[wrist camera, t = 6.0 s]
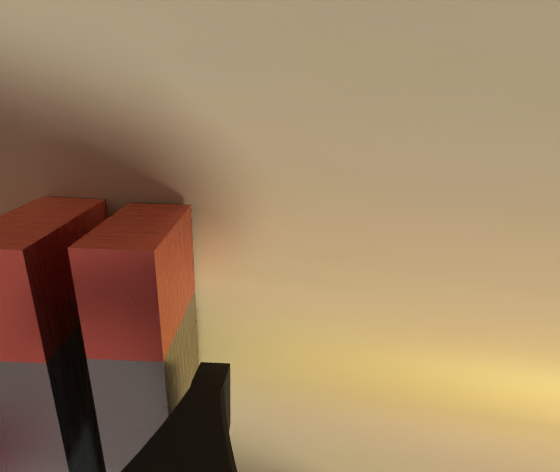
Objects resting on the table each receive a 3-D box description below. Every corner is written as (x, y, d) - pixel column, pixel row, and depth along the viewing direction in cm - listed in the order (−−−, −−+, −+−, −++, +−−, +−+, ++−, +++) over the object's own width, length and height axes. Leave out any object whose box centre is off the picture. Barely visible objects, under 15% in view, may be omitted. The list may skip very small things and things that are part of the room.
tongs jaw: (205, 516, 14) (186, 621, 11) (162, 514, 14) (131, 619, 11) (190, 205, 10) (153, 251, 7) (128, 202, 10) (67, 247, 7)
